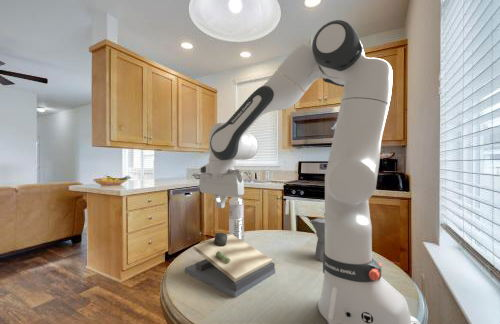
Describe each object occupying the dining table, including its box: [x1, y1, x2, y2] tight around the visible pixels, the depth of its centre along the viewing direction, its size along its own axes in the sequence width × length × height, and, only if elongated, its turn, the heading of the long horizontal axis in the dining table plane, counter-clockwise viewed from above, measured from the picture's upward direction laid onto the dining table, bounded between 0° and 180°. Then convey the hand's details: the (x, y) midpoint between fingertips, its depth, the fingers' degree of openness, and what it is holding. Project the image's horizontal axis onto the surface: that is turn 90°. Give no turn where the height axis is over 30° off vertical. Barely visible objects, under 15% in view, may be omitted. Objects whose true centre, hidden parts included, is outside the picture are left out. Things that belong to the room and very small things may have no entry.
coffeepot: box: [309, 212, 325, 263], centre depth 94 cm, size 15×9×18 cm, turn 86°
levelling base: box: [184, 258, 276, 298], centre depth 81 cm, size 24×20×4 cm
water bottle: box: [228, 196, 245, 242], centre depth 107 cm, size 7×7×25 cm
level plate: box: [193, 232, 273, 282], centre depth 80 cm, size 20×18×4 cm
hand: (220, 207), depth 84 cm, fingers closed
